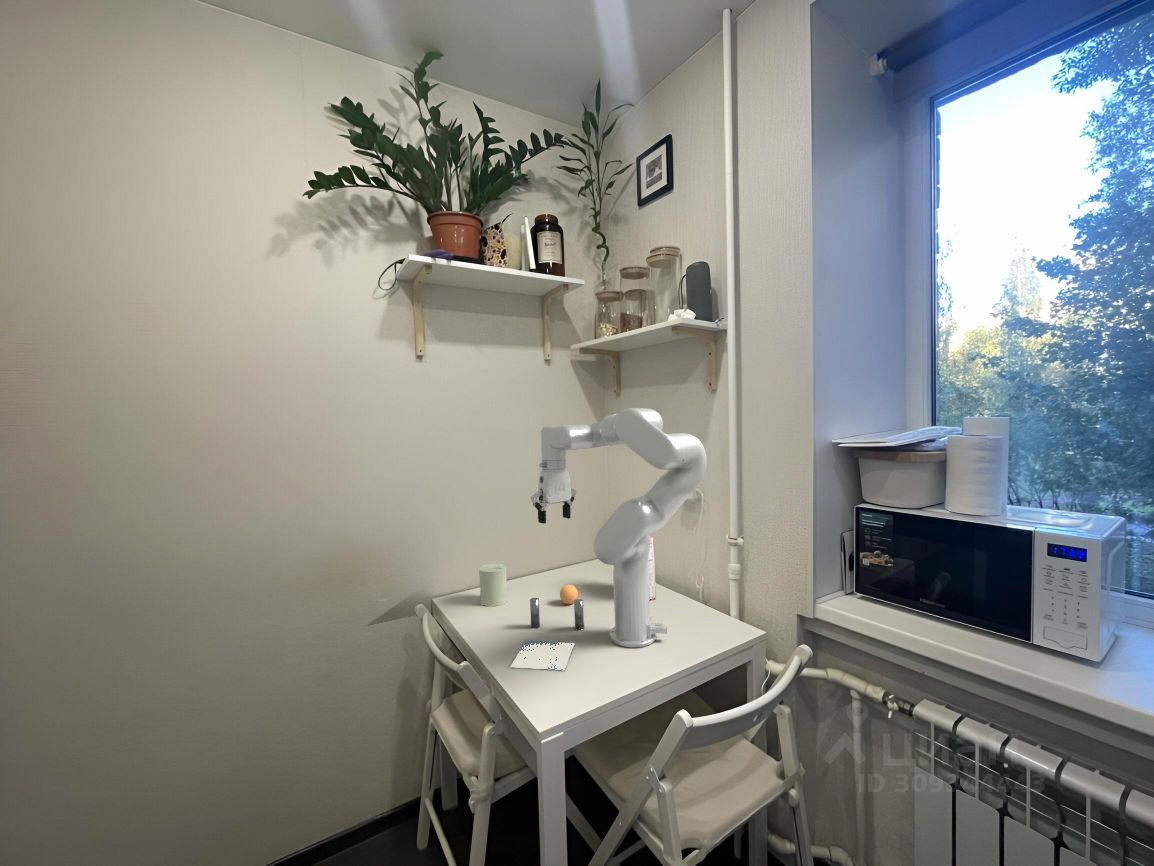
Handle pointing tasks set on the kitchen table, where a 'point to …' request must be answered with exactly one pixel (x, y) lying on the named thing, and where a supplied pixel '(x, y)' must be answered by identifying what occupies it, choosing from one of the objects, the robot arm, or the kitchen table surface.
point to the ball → (568, 594)
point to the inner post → (579, 614)
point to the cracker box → (651, 571)
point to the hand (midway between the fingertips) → (554, 520)
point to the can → (493, 584)
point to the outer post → (534, 612)
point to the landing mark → (528, 642)
